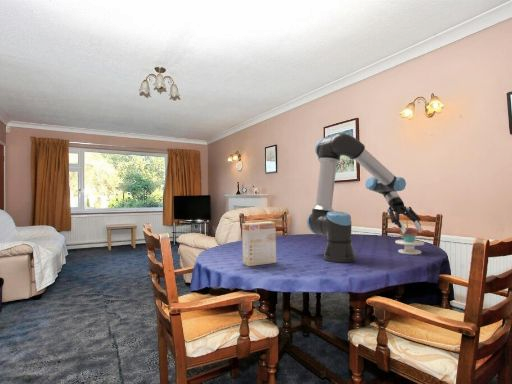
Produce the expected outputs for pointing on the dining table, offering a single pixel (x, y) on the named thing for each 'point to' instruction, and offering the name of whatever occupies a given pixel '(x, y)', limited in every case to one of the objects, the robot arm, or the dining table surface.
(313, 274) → the dining table surface
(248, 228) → the coffeecake box
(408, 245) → the cake stand
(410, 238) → the cupcake
